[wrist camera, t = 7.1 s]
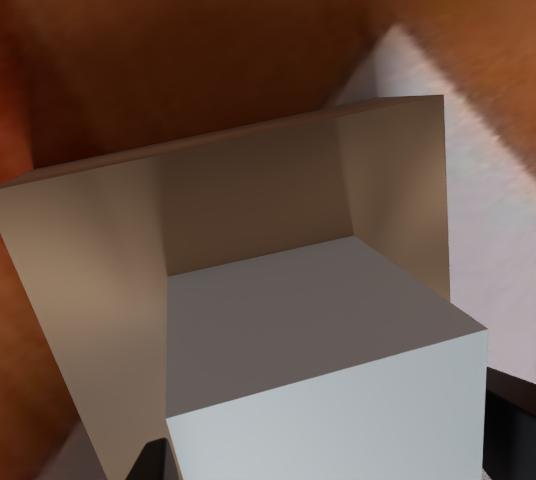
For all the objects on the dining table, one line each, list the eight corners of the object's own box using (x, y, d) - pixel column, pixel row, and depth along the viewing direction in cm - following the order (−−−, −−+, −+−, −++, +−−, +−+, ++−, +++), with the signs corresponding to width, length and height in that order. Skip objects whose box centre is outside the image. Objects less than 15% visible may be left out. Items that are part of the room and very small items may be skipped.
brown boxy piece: (395, 360, 18) (454, 426, 14) (141, 441, 16) (133, 540, 13) (371, 97, 14) (443, 94, 10) (38, 167, 12) (-18, 192, 9)
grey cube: (354, 235, 11) (488, 328, 6) (365, 386, 13) (478, 546, 8) (167, 277, 10) (165, 418, 6) (206, 432, 12) (229, 640, 7)
